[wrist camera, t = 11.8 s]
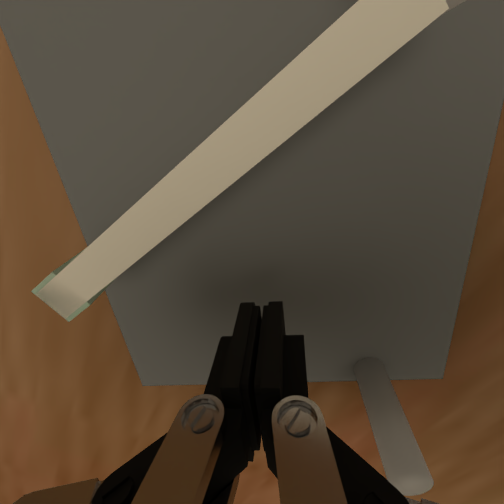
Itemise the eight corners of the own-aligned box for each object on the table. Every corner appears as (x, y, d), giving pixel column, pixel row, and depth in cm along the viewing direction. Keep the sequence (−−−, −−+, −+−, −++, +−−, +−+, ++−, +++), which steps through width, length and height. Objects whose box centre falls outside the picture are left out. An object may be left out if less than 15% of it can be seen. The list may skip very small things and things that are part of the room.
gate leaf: (433, 14, 11) (537, -53, 7) (122, 268, 17) (68, 321, 13) (409, -38, 11) (506, -148, 6) (96, 244, 17) (31, 291, 12)
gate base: (536, -140, 10) (1119, -708, 3) (435, 367, 21) (519, 500, 14) (-3, -24, 13) (-346, -195, 6) (147, 375, 24) (91, 490, 16)
